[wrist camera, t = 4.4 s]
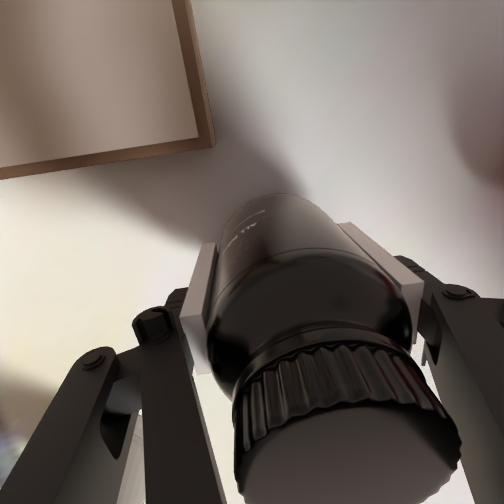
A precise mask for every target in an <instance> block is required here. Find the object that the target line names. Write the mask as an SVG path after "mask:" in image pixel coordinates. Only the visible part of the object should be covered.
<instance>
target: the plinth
mask: <svg viewBox="0 0 504 504" xmlns="http://www.w3.org/2000/svg"><path fill="white" fill-rule="evenodd" d="M215 144H216V140H215V135H214V129H213V123H212V118H211V112H210V107H209V101H208V96H207V90H206V85H205V79H204V74H203V68H202V63H201V57H200V52H199V46H198V41H197V35H196V30H195V24H194V19H193V13H192V8H191V2H190V0H0V180H2V179H9V178H15V177H22V176H28V175H35V174H41V173H48V172H54V171H61V170H67V169H74V168H80V167H87V166H93V165H100V164H106V163H113V162H119V161H126V160H132V159H139V158H145V157H152V156H158V155H165V154H171V153H178V152H184V151H191V150H197V149H204V148H210V147H213V146H214V145H215Z"/></svg>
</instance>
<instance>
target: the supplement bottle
mask: <svg viewBox="0 0 504 504" xmlns="http://www.w3.org/2000/svg"><path fill="white" fill-rule="evenodd" d="M412 341H413V327H412V320H411V315H410V311H409V308H408V305H407V303H406V301H405V298H404V296H403V295H402V293H401V291H400V290H399V289H398V287H397V286H396V285H395V284H394V282H393V281H392V280H391V279H390V278H389V276H388V275H387V274H386V273H385V272H384V271H383V270H382V269H381V268H380V267H379V266H378V265H377V264H376V263H375V262H374V261H373V260H372V259H371V258H370V257H369V256H368V255H367V254H366V253H365V252H364V251H363V250H362V249H361V248H360V247H359V246H358V245H357V244H356V243H355V242H354V241H353V240H352V239H351V238H350V237H349V236H348V235H347V234H346V233H345V232H344V231H343V230H342V229H341V228H340V227H339V226H338V225H337V224H336V223H335V222H334V221H333V220H332V219H331V218H330V217H329V216H328V215H327V214H326V213H325V212H324V211H322V210H321V209H320V208H319V207H318V206H317V205H315V204H314V203H312V202H311V201H309V200H307V199H305V198H302V197H300V196H296V195H292V194H281V193H279V194H270V195H265V196H262V197H259V198H256V199H254V200H252V201H250V202H248V203H247V204H245V205H244V206H243V207H241V208H240V209H239V210H238V211H237V212H236V213H235V214H234V215H233V216H232V218H231V219H230V220H229V222H228V224H227V225H226V227H225V230H224V232H223V235H222V238H221V243H220V247H219V253H218V259H217V265H216V271H215V278H214V284H213V290H212V296H211V302H210V308H209V314H208V320H207V328H206V341H205V346H206V356H207V361H208V364H209V368H210V370H211V373H212V375H213V377H214V379H215V381H216V383H217V384H218V386H219V387H220V389H221V390H222V392H223V393H224V394H225V395H226V396H227V398H228V399H229V400H230V401H231V402H232V422H233V427H234V475H235V480H236V482H237V488H238V492H239V493H240V494H241V495H242V496H243V497H244V501H245V503H246V504H420V503H422V502H424V501H425V500H426V499H427V498H428V497H429V496H431V495H433V494H435V493H437V492H438V491H439V489H440V488H441V486H443V485H444V484H445V483H447V482H448V481H449V480H450V476H451V474H452V473H453V472H454V471H455V470H456V469H457V462H458V461H459V459H460V458H461V456H462V454H461V452H460V447H461V446H462V440H461V438H460V436H459V434H458V428H457V426H456V424H455V422H454V421H453V419H452V418H451V416H450V415H449V413H448V412H447V411H446V409H445V408H444V407H443V405H442V404H441V402H440V401H439V400H438V398H437V397H436V396H435V394H434V393H433V392H432V390H431V389H430V387H429V386H428V385H427V383H426V379H425V377H424V375H423V373H422V371H421V369H420V368H419V366H418V365H417V364H416V362H415V361H414V360H413V359H412V357H411V356H410V354H411V349H412Z"/></svg>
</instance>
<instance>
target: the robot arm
mask: <svg viewBox="0 0 504 504" xmlns="http://www.w3.org/2000/svg"><path fill="white" fill-rule="evenodd" d="M337 225H338V226H339V227H340V228H341V229H342V230H343V231H344V232H345V233H346V234H347V235H348V236H349V237H350V238H351V239H352V240H353V241H354V242H355V243H356V244H357V245H358V246H359V247H360V248H361V249H362V250H363V251H364V252H365V253H366V254H367V255H368V256H369V257H370V258H371V259H372V260H373V261H374V262H375V263H376V264H377V265H378V266H379V267H380V268H381V269H382V270H383V271H384V272H385V273H386V274H387V275H388V276H389V278H390V279H391V280H392V281H393V282H394V284H395V285H396V286H397V287H398V289H399V290H400V291H401V293H402V295H403V296H404V298H405V301H406V303H407V305H408V308H409V311H410V315H411V320H412V327H413V341H412V344H416V339H417V331H418V332H419V333H420V334H421V336H422V337H423V338H424V339H425V341H424V348H423V354H422V361H421V366H425V363H426V360H427V361H428V364H429V367H430V370H431V373H432V376H433V379H434V382H435V385H436V388H437V391H438V394H439V397H440V400H441V403H442V405H443V407H444V408H445V409H446V411H447V412H448V413H449V415H450V416H451V418H452V419H453V421H454V422H455V424H456V426H457V428H458V434H459V436H460V438H461V440H462V446H461V447H460V452H461V454H462V456H461V458H460V460H461V463H462V466H463V469H464V472H465V475H466V478H467V481H468V484H469V487H470V490H471V493H472V496H473V499H474V502H475V504H504V299H497V298H480V296H479V295H478V294H477V293H476V292H475V291H473V290H471V289H469V288H467V287H463V286H460V285H454V284H444V283H442V282H441V281H440V280H438V279H437V278H436V277H434V276H433V275H431V274H430V273H429V272H427V271H425V269H423V268H422V267H421V266H419V265H418V264H417V263H415V262H414V261H413V260H411V259H408V258H406V257H403V256H401V255H400V256H392V255H391V254H389V253H388V252H387V251H386V250H384V249H383V248H382V247H381V246H380V245H378V244H377V243H376V242H375V241H373V240H372V239H371V238H370V237H368V236H367V235H366V234H365V233H363V232H362V231H361V230H360V229H358V228H357V227H356V226H355V225H354V224H352V223H351V222H348V223H341V224H337ZM217 259H218V251H217V246H216V242H213V243H206V244H202V246H201V250H200V253H199V256H198V259H197V262H196V266H195V269H194V272H193V275H192V278H191V281H190V285H189V287H186V288H179V289H175V290H174V291H173V292H172V293H171V294H170V295H169V296H168V299H167V301H166V304H165V306H157V307H153V308H150V309H147V310H145V311H143V312H142V313H140V314H139V315H137V316H136V318H135V319H134V320H133V322H132V327H133V330H134V332H135V335H136V337H137V340H138V342H139V346H138V347H135V348H133V349H131V350H128V351H125V352H123V353H120V354H117V355H116V353H115V351H114V349H113V348H111V347H108V346H107V347H99V348H96V349H93V350H91V351H89V352H87V353H85V354H84V355H83V356H81V357H80V358H79V359H78V360H77V361H76V362H75V363H74V365H73V366H72V367H71V369H70V371H69V373H68V374H67V376H66V378H65V380H64V381H63V383H62V385H61V386H60V388H59V390H58V392H57V393H56V395H55V397H54V398H53V400H52V402H51V404H50V405H49V407H48V409H47V411H46V412H45V414H44V416H43V417H42V419H41V421H40V423H39V424H38V426H37V428H36V430H35V431H34V433H33V435H32V436H31V438H30V440H29V442H28V443H27V445H26V447H25V448H24V450H23V452H22V454H21V455H20V457H19V459H18V461H17V462H16V464H15V466H14V467H13V469H12V471H11V473H10V474H9V476H8V478H7V480H6V481H5V483H4V485H3V486H2V488H1V490H0V504H117V499H118V495H119V491H120V487H121V483H122V479H123V475H124V471H125V466H126V462H127V458H128V454H129V450H130V446H131V442H132V438H133V434H134V429H135V425H136V421H137V417H138V413H139V410H141V409H142V422H143V447H144V471H145V496H146V504H227V501H226V498H225V494H224V490H223V486H222V483H221V479H220V475H219V472H218V468H217V464H216V460H215V457H214V453H213V449H212V445H211V442H210V438H209V434H208V431H207V427H206V423H205V419H204V416H203V412H202V408H201V405H200V401H199V397H198V393H197V390H196V386H195V382H194V379H193V376H192V372H193V367H195V370H196V373H197V375H201V374H208V373H211V370H210V368H209V364H208V361H207V356H206V346H205V341H206V328H207V320H208V314H209V308H210V302H211V296H212V290H213V284H214V278H215V271H216V265H217Z"/></svg>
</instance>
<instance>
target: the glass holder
mask: <svg viewBox="0 0 504 504" xmlns="http://www.w3.org/2000/svg"><path fill="white" fill-rule="evenodd" d="M145 497H146V496H145V471H144V447H143V422H142V416H141V415H138V417H137V421H136V425H135V429H134V434H133V438H132V442H131V446H130V450H129V454H128V458H127V462H126V466H125V471H124V475H123V479H122V483H121V487H120V491H119V495H118V499H117V504H144V501H145Z"/></svg>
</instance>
